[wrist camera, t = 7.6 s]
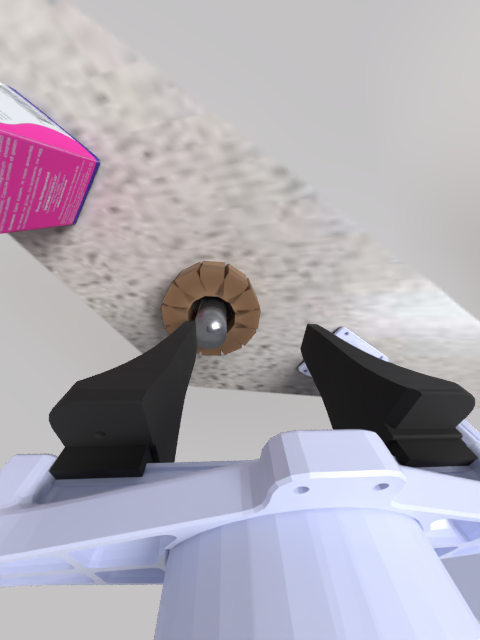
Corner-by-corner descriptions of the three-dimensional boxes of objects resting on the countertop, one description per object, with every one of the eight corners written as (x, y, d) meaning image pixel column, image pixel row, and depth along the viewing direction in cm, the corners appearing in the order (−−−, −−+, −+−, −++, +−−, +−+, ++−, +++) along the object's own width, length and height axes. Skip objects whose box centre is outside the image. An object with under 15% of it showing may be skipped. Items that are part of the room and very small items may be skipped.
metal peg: (232, 300, 21) (233, 331, 15) (217, 319, 22) (214, 354, 17) (209, 286, 20) (202, 314, 15) (195, 307, 21) (185, 339, 16)
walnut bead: (272, 293, 20) (278, 305, 18) (226, 350, 24) (226, 367, 21) (196, 242, 18) (191, 247, 15) (156, 315, 21) (146, 330, 18)
